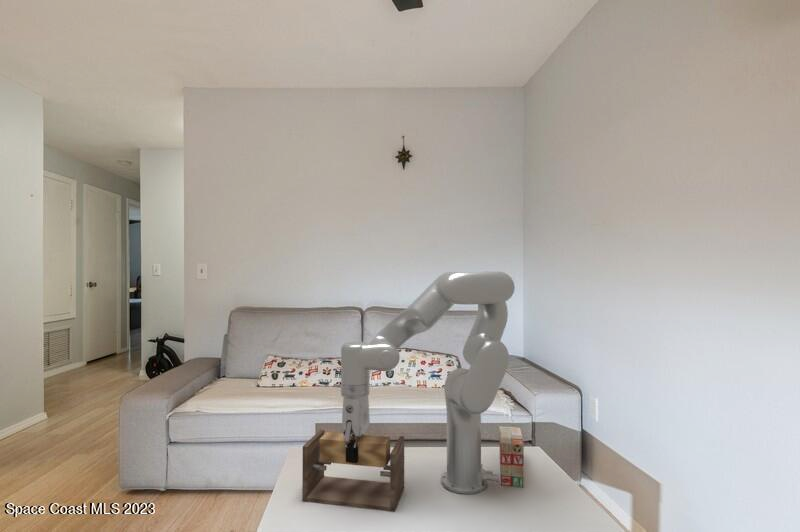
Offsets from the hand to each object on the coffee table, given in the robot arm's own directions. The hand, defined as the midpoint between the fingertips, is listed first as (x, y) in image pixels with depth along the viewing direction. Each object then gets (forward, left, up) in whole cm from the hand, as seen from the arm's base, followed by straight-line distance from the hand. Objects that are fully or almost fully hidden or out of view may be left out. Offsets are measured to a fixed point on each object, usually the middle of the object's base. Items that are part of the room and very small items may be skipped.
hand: (355, 457), depth 115 cm
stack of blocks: (-41, -23, -10) cm, 48 cm away
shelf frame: (0, 0, -10) cm, 10 cm away
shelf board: (0, 0, -1) cm, 1 cm away
